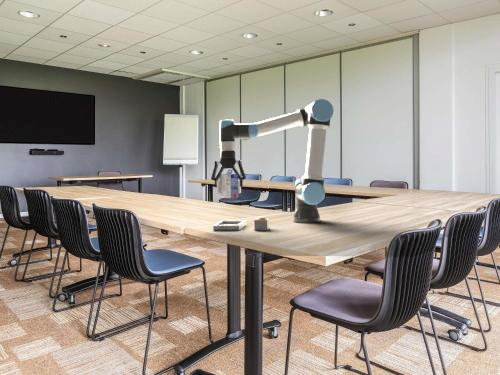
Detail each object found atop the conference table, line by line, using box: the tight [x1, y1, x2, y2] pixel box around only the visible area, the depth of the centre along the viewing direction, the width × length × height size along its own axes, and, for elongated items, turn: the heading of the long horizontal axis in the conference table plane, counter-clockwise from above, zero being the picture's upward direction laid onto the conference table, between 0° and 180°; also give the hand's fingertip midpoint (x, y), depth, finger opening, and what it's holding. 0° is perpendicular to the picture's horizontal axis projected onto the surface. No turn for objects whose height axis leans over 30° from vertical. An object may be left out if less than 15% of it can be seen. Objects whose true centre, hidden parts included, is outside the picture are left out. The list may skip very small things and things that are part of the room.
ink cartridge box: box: [218, 169, 240, 199], centre depth 209 cm, size 10×6×14 cm, turn 41°
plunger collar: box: [253, 217, 270, 231], centre depth 202 cm, size 6×6×5 cm
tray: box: [212, 220, 247, 231], centre depth 210 cm, size 13×17×2 cm
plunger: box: [257, 216, 266, 220], centre depth 202 cm, size 4×4×5 cm
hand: (229, 193), depth 209 cm, fingers closed on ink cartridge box, 10 cm apart
